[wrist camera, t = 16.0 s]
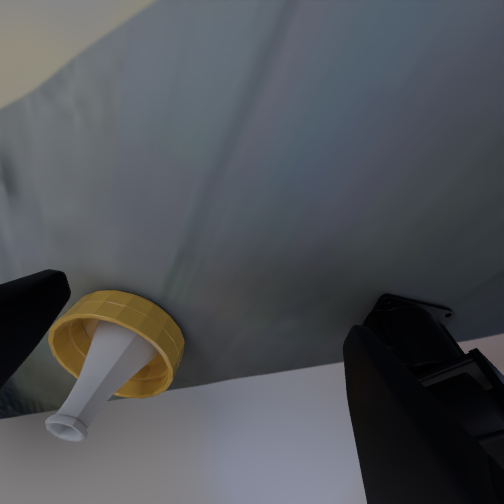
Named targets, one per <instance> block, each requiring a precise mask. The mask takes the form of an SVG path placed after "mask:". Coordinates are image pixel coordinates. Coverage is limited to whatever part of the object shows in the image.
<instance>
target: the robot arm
mask: <svg viewBox="0 0 504 504" xmlns="http://www.w3.org/2000/svg"><path fill="white" fill-rule="evenodd" d="M70 295H71V290H70V287H69V284H68V281H67V277H66V275H65V273H64V272H62V271H57V270H52V269H48V270H44V271H41V272H38V273H35V274H32V275H29V276H26V277H22V278H19V279H16V280H13V281H10V282H7V283H4V284H1V285H0V390H1V388H2V387H3V386H4V385H5V384H6V382H7V381H8V380H9V379H10V378H11V376H12V375H13V374H14V373H15V372H16V370H17V369H18V368H19V367H20V366H21V364H22V363H23V362H24V361H25V359H26V358H27V357H28V356H29V355H30V353H31V352H32V351H33V350H34V349H35V347H36V346H37V345H38V343H39V342H40V341H41V339H42V338H43V337H44V335H45V334H46V332H47V331H48V329H49V328H50V326H51V325H52V324H53V322H54V321H55V319H56V318H57V316H58V315H59V313H60V312H61V310H62V309H63V307H64V306H65V305H66V303H67V302H68V300H69V298H70ZM386 299H388V300H386ZM385 300H386V301H385ZM453 317H454V312H453V311H452V310H451V309H450V308H446V307H442V306H437V305H433V304H429V303H424V302H420V301H416V300H411V299H407V298H403V297H398V296H394V295H390V294H384V295H382V296H381V297H380V298H379V300H378V302H377V303H376V305H375V307H374V308H373V310H372V311H371V313H369V315H368V316H367V318H366V320H365V321H364V323H363V325H362V326H359V325H354V326H352V328H351V330H350V331H349V333H348V335H347V337H346V339H345V341H344V344H343V355H344V367H345V379H346V390H347V399H348V406H349V411H350V416H351V422H352V426H353V432H354V437H355V442H356V447H357V453H358V458H359V463H360V468H361V473H362V479H363V484H364V489H365V494H366V499H367V504H504V375H502V373H501V372H500V371H499V370H498V369H497V368H496V367H495V366H494V365H493V364H492V363H491V362H490V361H489V360H488V359H487V358H486V357H485V356H484V355H483V354H482V353H481V352H480V351H479V350H478V349H477V348H475V349H473V350H470V351H469V353H467V354H465V353H464V352H463V351H462V350H461V348H460V347H459V345H458V344H457V343H456V341H455V340H454V338H453V337H452V336H451V334H450V333H449V332H448V330H447V329H446V328H445V326H446V325H447V324H448V322H449V321H450V320H451V319H452V318H453Z"/></svg>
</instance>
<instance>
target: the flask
mask: <svg viewBox="0 0 504 504" xmlns="http://www.w3.org/2000/svg"><path fill="white" fill-rule="evenodd" d="M157 354H158V350H157V349H156V348H155V347H154V346H153V345H152V344H151V343H150V342H148V341H147V340H146V339H144V338H143V337H141V336H140V335H139V334H137V333H136V332H134V331H132V330H130V329H127V328H125V327H123V326H121V325H119V324H116V323H113V322H109V321H104V320H100V319H99V322H98V324H97V327H96V330H95V333H94V336H93V340H92V343H91V346H90V349H89V351H88V354H87V357H86V360H85V362H84V365H83V368H82V371H81V373H80V376H79V378H78V380H77V382H76V384H75V385H74V387H73V389H72V391H71V393H70V395H69V397H68V398H67V400H66V401H65V402H64V404H63V405H62V407H61V408H60V409H59V411H58V412H57V413H56V414H55V415H51V416H50V417H49V418H48V419H47V420H46V421H45V425H46V428H47V430H48V431H50V432H51V433H52V434H54V435H55V436H56V437H58V438H62V439H65V440H69V441H84V440H85V438H86V436H87V428H88V426H89V425H90V423H91V422H92V420H93V418H94V417H95V415H96V414H97V412H98V411H99V410H100V409H101V408H102V406H103V405H104V404H105V403H106V402H107V401H108V399H109V398H110V397H111V396H112V395H113V394H114V393H115V392H116V391H117V390H118V389H119V388H120V387H121V386H122V385H124V384H125V383H126V382H127V381H128V380H129V379H130V378H131V377H132V376H133V375H134V374H136V373H137V372H138V371H139V370H140V369H141V368H143V367H144V366H145V365H146V364H147V363H149V362H150V361H151V360H152V359H153V358H154V357H155V356H156V355H157Z"/></svg>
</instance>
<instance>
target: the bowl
mask: <svg viewBox="0 0 504 504" xmlns="http://www.w3.org/2000/svg"><path fill="white" fill-rule="evenodd" d="M99 319H100V320H104V321H109V322H113V323H116V324H119V325H121V326H123V327H125V328H127V329H130V330H132V331H134V332H136V333H137V334H139V335H140V336H141V337H143V338H144V339H146V340H147V341H148V342H150V343H151V344H152V345H153V346H154V347H155V348H156V349H157V350H158V354H157V355H156V356H155V357H154V358H153V359H152V360H151V361H150V362H149V363H147V364H146V365H145V366H144V367H143V368H141V369H140V370H139V371H138V372H137V373H136V374H134V375H133V376H132V377H131V378H130V379H129V380H128V381H127V382H126V383H125V384H124V385H122V386H121V387H120V388H119V389H118V390H117V391H116V392H115V393H114V394H113V395H117V396H121V397H126V398H146V397H152V396H156V395H158V394H160V393H162V392H164V391H166V390H167V388H168V387H169V385H170V384H171V382H172V381H173V378H174V376H175V374H176V371H177V369H178V366H179V364H180V362H181V359H182V357H183V354H184V345H185V341H184V338H183V336H182V333H181V330H180V328H179V327H178V326H177V324H176V323H175V322H174V320H173V319H172V318H171V317H170V316H169V315H168V314H167V313H166V312H165V311H164V310H163V309H161V308H160V307H159V306H157V305H156V304H154V303H153V302H151V301H149V300H147V299H145V298H143V297H140V296H137V295H134V294H131V293H126V292H121V291H117V290H103V291H96V292H93V293H90V294H88V295H85V296H83V297H82V298H81V299H80V300H79V301H78V302H77V303H76V304H75V305H73V306H72V307H71V308H70V309H69V310H68V311H67V312H66V313H65V314H64V315H63V316H62V317H60V318H59V319H58V320H57V321H56V322H55V324H54V325H53V326H52V327H51V328H50V331H49V337H48V342H49V345H50V348H51V351H52V353H53V355H54V356H55V358H56V359H57V360H58V362H59V363H60V364H61V365H62V367H64V368H65V369H66V370H67V371H68V372H70V373H71V374H72V375H73V376H74V377H76V378H77V379H78V378H79V376H80V373H81V371H82V368H83V365H84V362H85V360H86V357H87V354H88V351H89V349H90V346H91V343H92V340H93V336H94V333H95V330H96V327H97V324H98V322H99Z"/></svg>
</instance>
